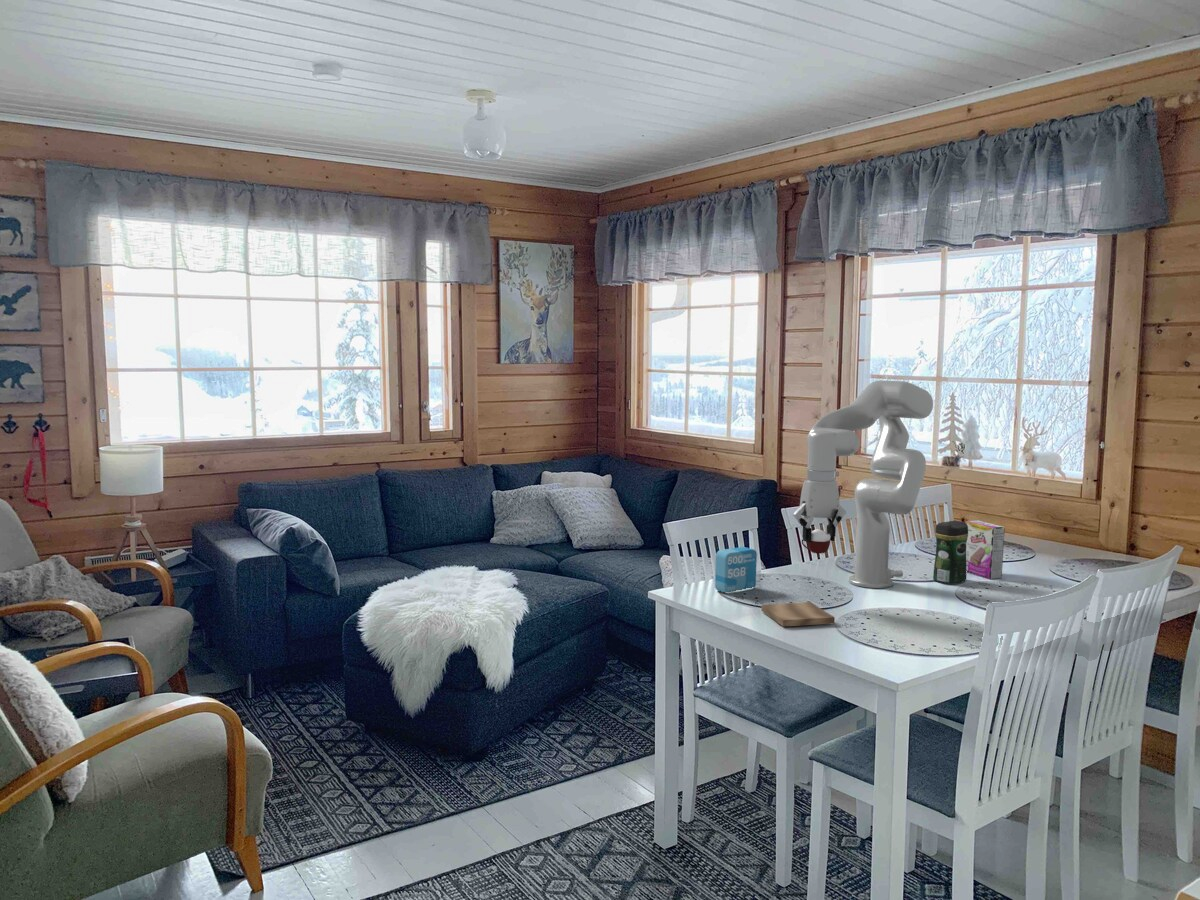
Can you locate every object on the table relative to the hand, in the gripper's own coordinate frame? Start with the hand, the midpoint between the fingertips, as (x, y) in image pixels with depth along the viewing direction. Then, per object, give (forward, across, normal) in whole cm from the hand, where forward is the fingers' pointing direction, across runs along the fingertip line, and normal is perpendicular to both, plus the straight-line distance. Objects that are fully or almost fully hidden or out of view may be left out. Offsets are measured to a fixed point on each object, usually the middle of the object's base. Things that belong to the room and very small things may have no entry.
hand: (818, 540), depth 247 cm
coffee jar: (+18, -52, -9) cm, 56 cm away
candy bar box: (+18, -67, -13) cm, 71 cm away
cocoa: (+4, 0, 0) cm, 4 cm away
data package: (+18, +16, -18) cm, 30 cm away
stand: (+18, +13, +11) cm, 24 cm away
